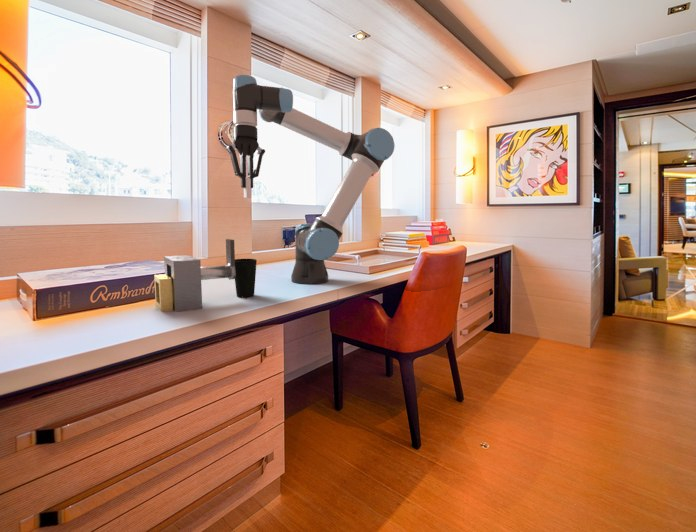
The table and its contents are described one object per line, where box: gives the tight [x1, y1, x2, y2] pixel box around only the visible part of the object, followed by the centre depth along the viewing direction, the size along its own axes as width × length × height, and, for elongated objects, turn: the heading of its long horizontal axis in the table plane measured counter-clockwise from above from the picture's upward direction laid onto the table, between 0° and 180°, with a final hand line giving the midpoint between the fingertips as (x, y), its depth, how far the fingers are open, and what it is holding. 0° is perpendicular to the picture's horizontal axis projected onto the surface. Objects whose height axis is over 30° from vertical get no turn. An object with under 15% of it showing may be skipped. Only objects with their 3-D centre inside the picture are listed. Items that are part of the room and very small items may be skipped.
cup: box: [234, 258, 258, 299], centre depth 123 cm, size 8×8×12 cm
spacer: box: [153, 273, 174, 313], centre depth 107 cm, size 3×9×9 cm, turn 36°
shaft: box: [201, 238, 236, 281], centre depth 113 cm, size 16×5×13 cm, turn 125°
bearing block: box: [163, 254, 203, 313], centre depth 110 cm, size 7×14×14 cm, turn 35°
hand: (247, 197), depth 128 cm, fingers closed
